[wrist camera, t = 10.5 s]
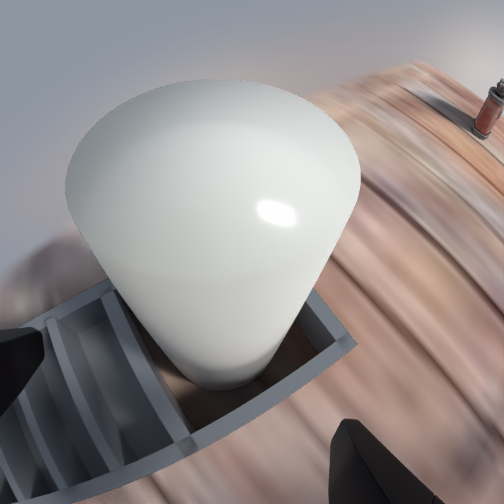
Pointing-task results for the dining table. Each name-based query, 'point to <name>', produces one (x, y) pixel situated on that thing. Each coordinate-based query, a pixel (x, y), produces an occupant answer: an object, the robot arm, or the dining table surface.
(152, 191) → the white smooth rounded part
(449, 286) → the dining table surface
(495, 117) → the lighter
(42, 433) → the dish rack
